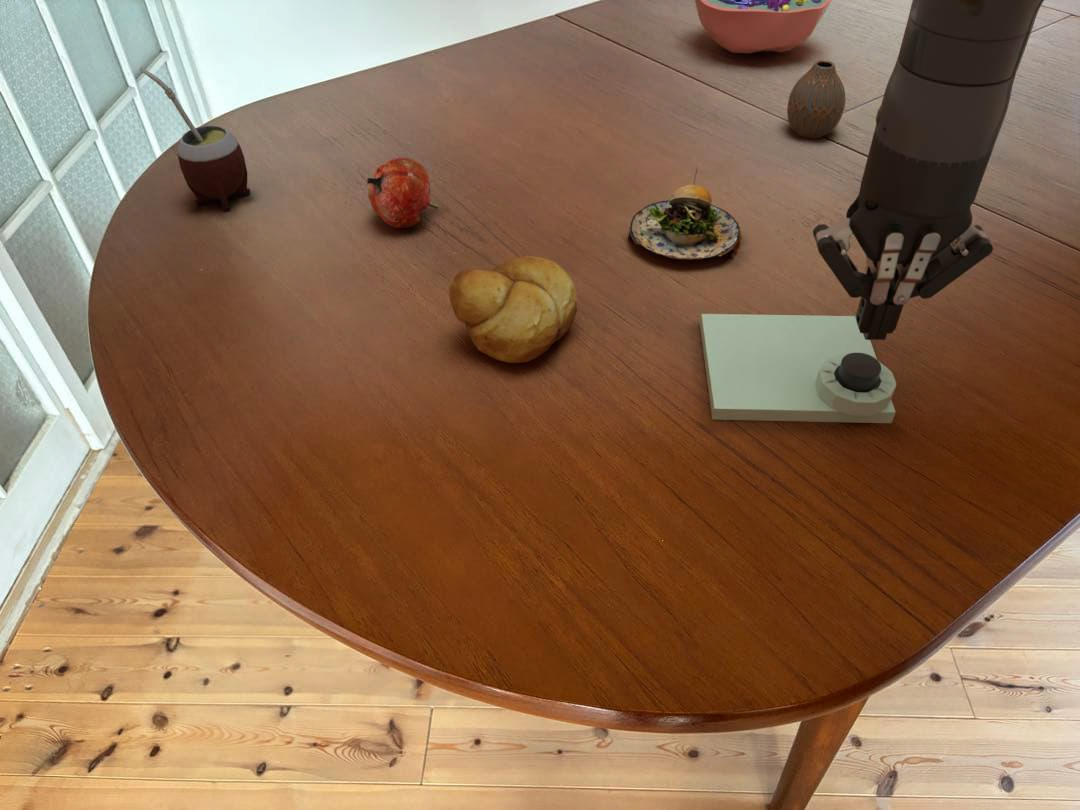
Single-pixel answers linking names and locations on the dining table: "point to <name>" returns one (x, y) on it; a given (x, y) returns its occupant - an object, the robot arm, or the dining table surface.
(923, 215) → the robot arm
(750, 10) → the cell model
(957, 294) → the dining table surface
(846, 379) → the button
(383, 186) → the pomegranate
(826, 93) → the vase
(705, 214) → the burger
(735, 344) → the scale
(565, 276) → the bread roll
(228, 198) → the mate gourd
